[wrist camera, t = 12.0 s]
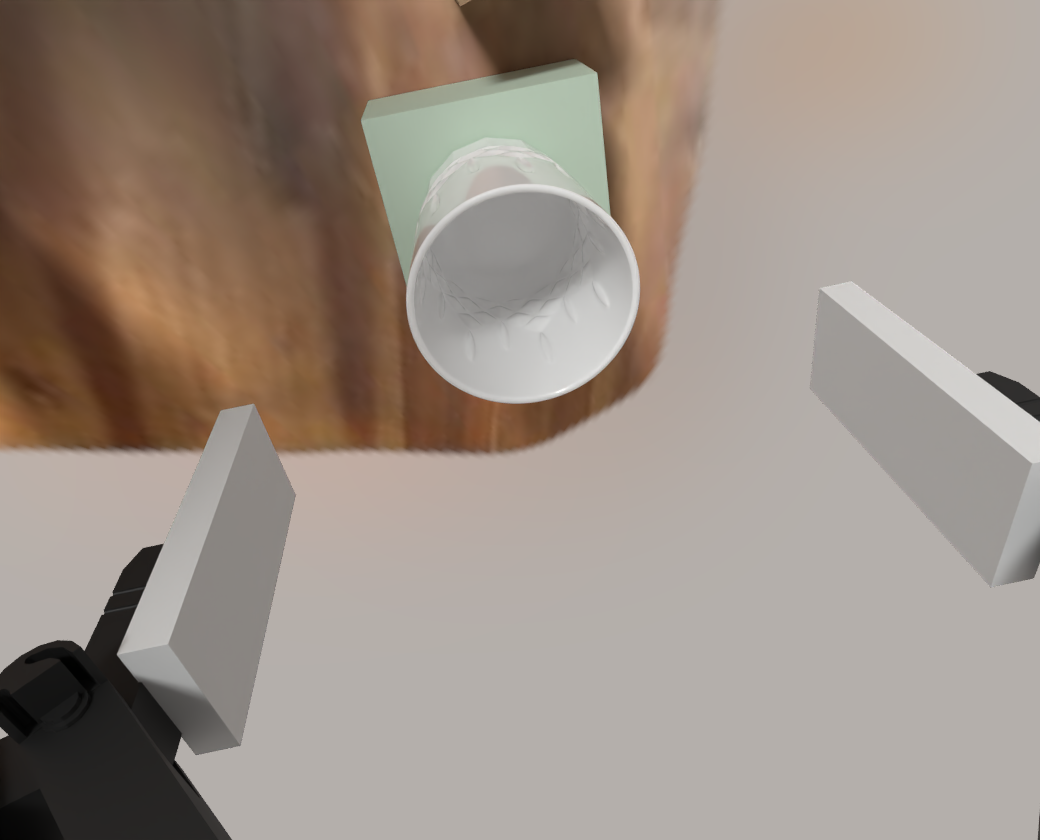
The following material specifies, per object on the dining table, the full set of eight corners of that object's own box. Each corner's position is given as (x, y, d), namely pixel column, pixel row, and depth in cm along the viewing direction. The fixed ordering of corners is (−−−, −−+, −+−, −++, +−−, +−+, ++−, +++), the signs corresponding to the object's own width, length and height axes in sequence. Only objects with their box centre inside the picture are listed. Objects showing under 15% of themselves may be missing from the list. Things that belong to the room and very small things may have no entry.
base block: (419, 293, 38) (419, 333, 34) (368, 100, 33) (360, 120, 29) (596, 257, 39) (617, 293, 34) (574, 58, 33) (597, 72, 29)
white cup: (380, 248, 32) (366, 350, 23) (461, 83, 28) (478, 135, 20) (527, 321, 35) (560, 434, 26) (616, 179, 31) (686, 258, 23)
